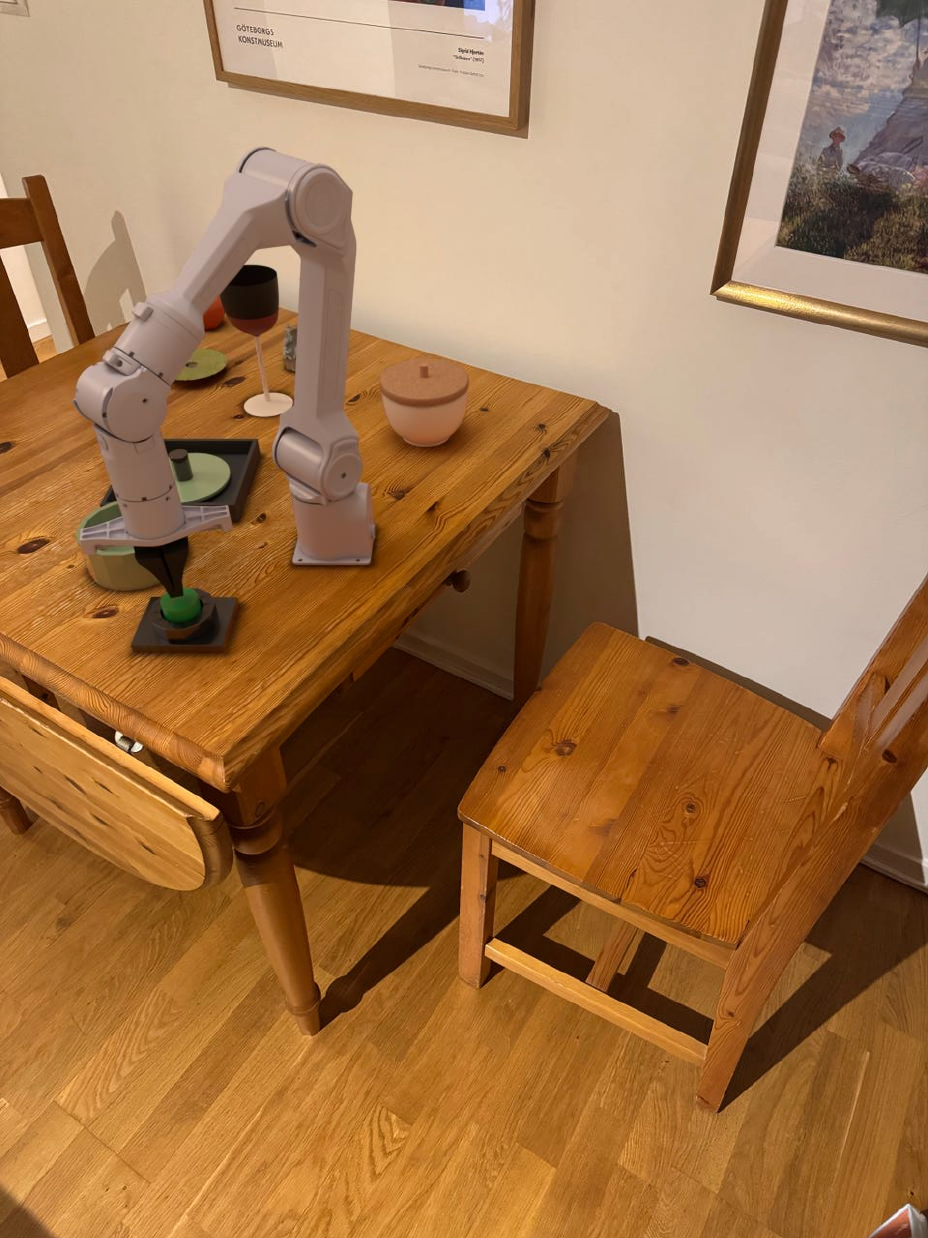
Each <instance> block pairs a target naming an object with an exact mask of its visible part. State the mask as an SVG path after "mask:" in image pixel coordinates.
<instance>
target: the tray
mask: <svg viewBox="0 0 928 1238" xmlns="http://www.w3.org/2000/svg"><path fill="white" fill-rule="evenodd" d="M163 439H164V443H165V447H166V450H167V454H168V457H169V454H170V452H172V451H174V450H177V449H184V450H186V451H187V452H188V453H204V454H210V455H214V456H216V457H219V458H221V459H222V460H224V461H225V462H226V463H227V464H228V466H229V468H230V472H231V478H230V481H229V483H228V484H227V486H226V487H225V488H224V489H223V490H222V491H220V492H219V493H218V494H216V495H215V496H213V497H211V498H209V499H206V500H204V501H201V502H181V505H182V506H206V507H215V506H225V505H228V507H229V512H230V516H231V521H232V523H239V521H240V518H241V515H242V512H243V509H244V506H245V504H246V501H247V498H248V494H249V493H250V489H251V486H252V483H253V480H254V477H255V475H256V472H257V468H258V466H259V462H260V460H261V457H262V453H261V448H260V443H259V439H258V438H163ZM115 501H117V499H116V496H115V493H114V490H113V487H112V484H111V483H110V485H109V487H108V489H107V491H106V492H105V494H104V496H103V498H102V500H101V501H100V503H99V508H100V507H102V506H105V505H107V504H109V503H112V502H115Z"/></svg>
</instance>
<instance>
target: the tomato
mask: <svg viewBox="0 0 928 1238" xmlns="http://www.w3.org/2000/svg"><path fill="white" fill-rule="evenodd" d="M225 316H226V313H225V311H224V308H223V306H222V303H221V300H220V296H218V298H217V299H216V300H215V301H214V303H213V304H212V305H211V306H210V308H209V309H208V310H207V311H206V313H205V314H204V315H203V324H204V330H213V329H216V328H217V327H220V324H222V322H223V320H224V318H225Z"/></svg>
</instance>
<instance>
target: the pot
mask: <svg viewBox="0 0 928 1238" xmlns="http://www.w3.org/2000/svg"><path fill="white" fill-rule="evenodd" d="M119 517H122V514H121V511H120V508H119V505H118V502H117V501H115V502H112V503H109V504H107V505H105V506H102V507H100V506H99V507H98V508H96V509H94V510H93V511H92V512H89V514H88V515H86V516H84V518H83V519H82V520H81V522H80V523H79V525H78V526H77V529H76V531H75V535H76V542H77V545H78V547H79V550H80V553H81V555H82V558H83V560H84V563H85V566H86V568H87V571H88V573H89V575H90V577H91V578H92V579H93V581H94V582H95V583H96V584H98V585H99V586H101V587H103V588H104V589H105V588H106V589H109V590H113V591H120V592H121V591H123V592H124V591H125V592H128V591H130V592H131V591H138V590H143V589H147V588H151V587H153V586H157V585H159V584H161V583H160V582H159V580H158V579H157V578H156V577H155V576H154V575H153V574H152V573H151V572H149V571H148V570H147V569H146V568H144V567H143V566H141V565H139V563H138V562H137V560H136V558H135V551H134V547H133V546H116V547H110V548H104V549H99V550H97V553H95V554H92V555H85V552H84V550H83V547H82V545H81V542H80V530H81V529H84V528H89V527H93V526H97V525H100V524H103V523H105V522H108V521H111V520H114V519H116V518H119Z"/></svg>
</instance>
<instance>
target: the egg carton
mask: <svg viewBox="0 0 928 1238" xmlns="http://www.w3.org/2000/svg"><path fill="white" fill-rule="evenodd" d="M297 327H298V326H293V327H292V326H290V324H289V323H287V324H286V326H285V329H284V338H283V345H282V354H283V359H284V360H285V362H286V370H289V371H292V372H295V370H296V349H297Z"/></svg>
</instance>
